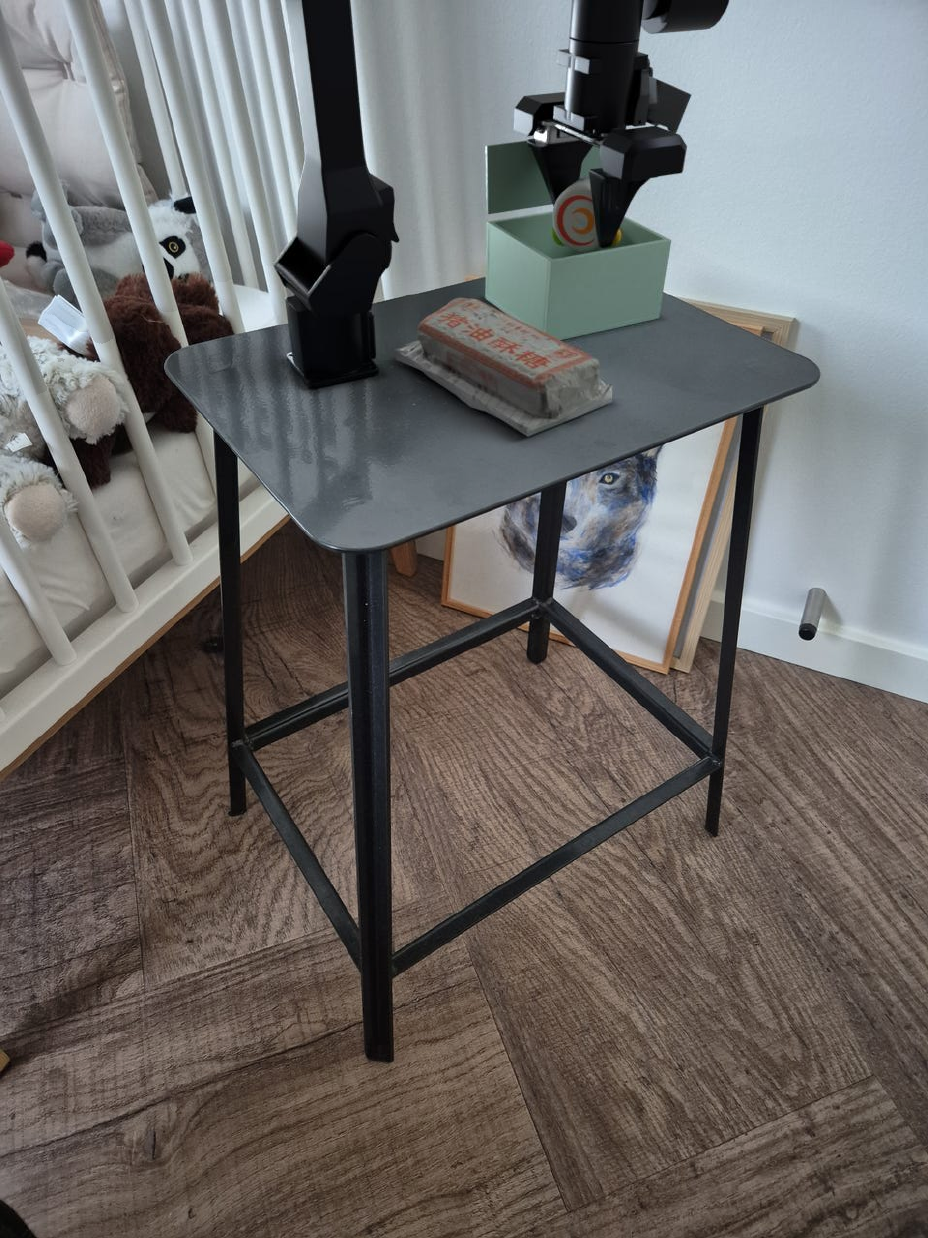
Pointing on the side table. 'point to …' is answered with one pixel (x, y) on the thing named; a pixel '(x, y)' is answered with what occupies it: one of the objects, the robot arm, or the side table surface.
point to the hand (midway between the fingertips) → (584, 235)
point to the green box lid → (521, 177)
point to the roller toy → (576, 218)
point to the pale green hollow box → (574, 277)
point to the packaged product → (506, 366)
